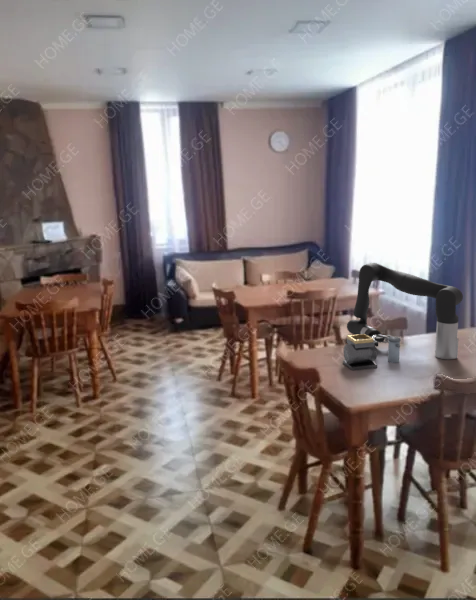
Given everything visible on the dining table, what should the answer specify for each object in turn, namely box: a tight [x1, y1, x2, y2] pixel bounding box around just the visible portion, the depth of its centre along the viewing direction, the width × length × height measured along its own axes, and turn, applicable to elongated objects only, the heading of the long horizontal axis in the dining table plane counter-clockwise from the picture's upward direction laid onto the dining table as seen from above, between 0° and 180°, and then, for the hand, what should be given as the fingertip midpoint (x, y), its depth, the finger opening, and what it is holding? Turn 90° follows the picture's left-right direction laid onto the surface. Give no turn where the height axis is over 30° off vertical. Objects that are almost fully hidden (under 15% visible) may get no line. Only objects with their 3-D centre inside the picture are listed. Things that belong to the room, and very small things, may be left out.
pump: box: [387, 336, 402, 364], centre depth 233 cm, size 7×6×11 cm
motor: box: [342, 334, 378, 371], centre depth 229 cm, size 12×10×14 cm
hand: (386, 343), depth 241 cm, fingers open, 8 cm apart
